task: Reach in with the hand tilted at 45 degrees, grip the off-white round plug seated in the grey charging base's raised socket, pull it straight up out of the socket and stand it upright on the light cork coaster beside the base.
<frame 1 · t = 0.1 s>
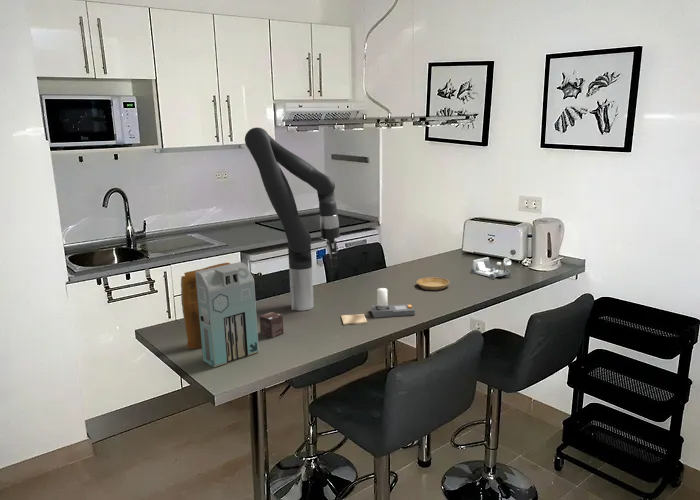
hand: (333, 264, 229), 17 cm above the breakfast bar, tool pointing down, fingers open, 8 cm apart
plant saucer: (432, 287, 255), on the breakfast bar
cork coaster: (354, 320, 215), on the breakfast bar
pancake mix bag: (211, 344, 195), on the breakfast bar
grey charging base: (392, 313, 221), on the breakfast bar
box: (272, 334, 202), on the breakfast bar
device: (231, 357, 184), on the breakfast bar
plug: (382, 313, 221), resting in grey charging base
white wheeled toy: (492, 276, 271), on the breakfast bar
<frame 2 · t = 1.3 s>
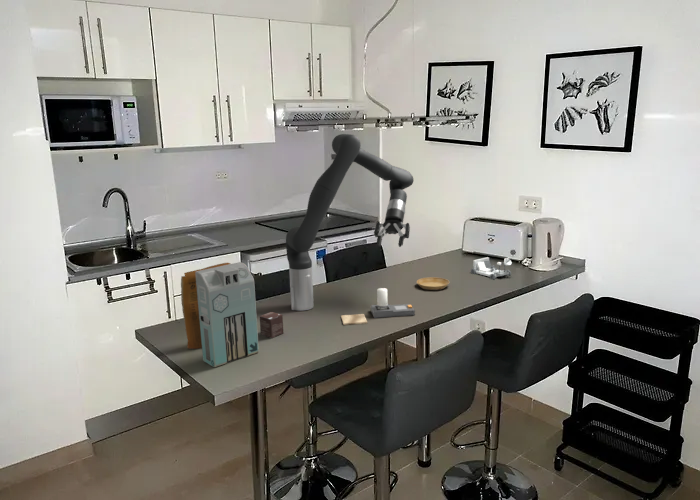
hand: (389, 245, 226), 25 cm above the breakfast bar, tool tilted 45°, fingers open, 8 cm apart
nothing on the breakfast bar moved.
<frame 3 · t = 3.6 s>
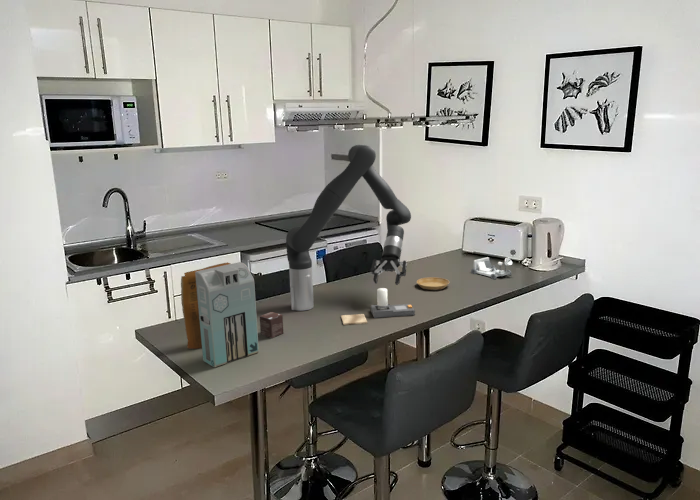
hand: (385, 283, 224), 11 cm above the breakfast bar, tool tilted 45°, fingers open, 8 cm apart
nothing on the breakfast bar moved.
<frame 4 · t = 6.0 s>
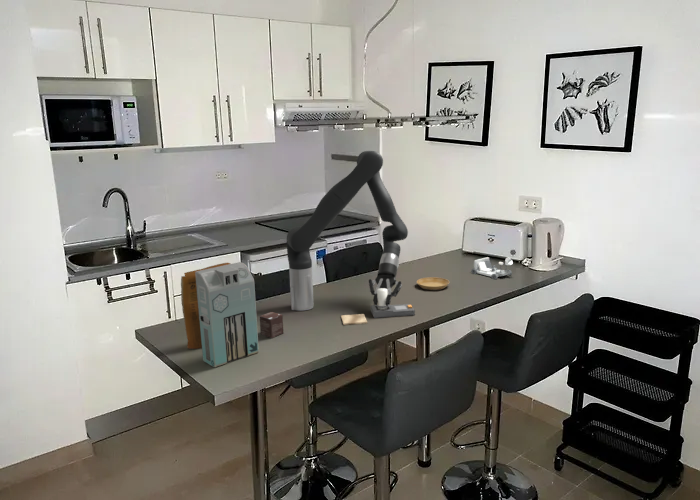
hand: (381, 304, 218), 5 cm above the breakfast bar, tool tilted 45°, fingers closed on plug, 4 cm apart
plug: (382, 313, 221), resting in grey charging base, touching gripper
everything else where it was.
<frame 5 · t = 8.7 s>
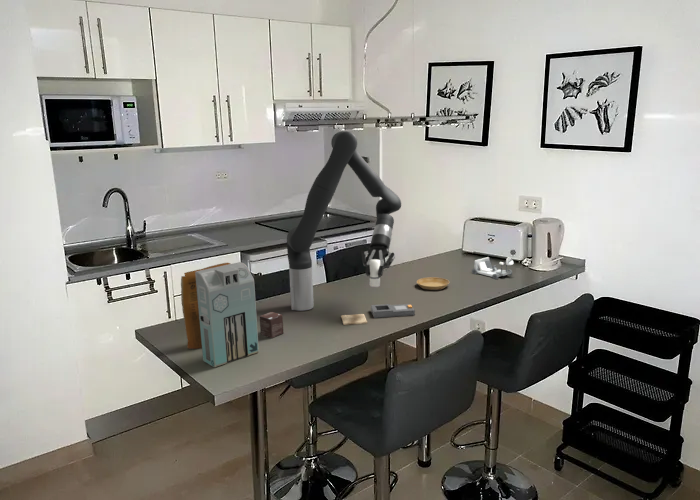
hand: (373, 275, 214), 17 cm above the breakfast bar, tool tilted 45°, fingers closed on plug, 4 cm apart
plug: (374, 285, 217), point 12 cm above the breakfast bar, touching gripper
everything else where it was.
when the fingers open (7 cm above the breakfast bar, at t = 11.6 s): plug drops 1 cm, resting on cork coaster.
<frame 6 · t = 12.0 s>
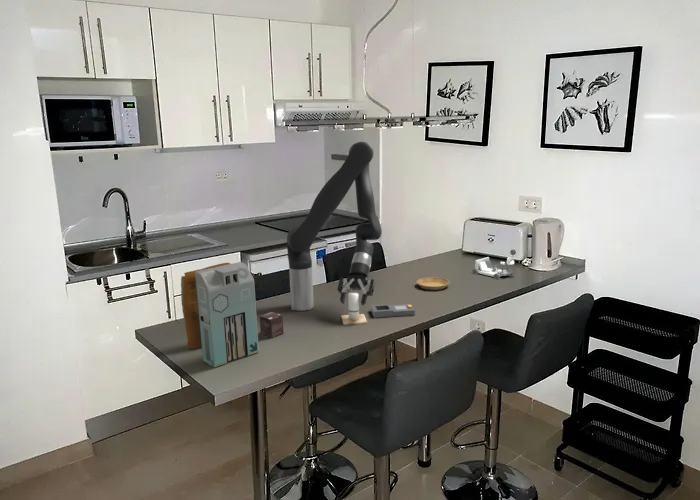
hand: (352, 303, 212), 7 cm above the breakfast bar, tool tilted 45°, fingers open, 7 cm apart
plug: (354, 318, 215), point 1 cm above the breakfast bar, touching cork coaster
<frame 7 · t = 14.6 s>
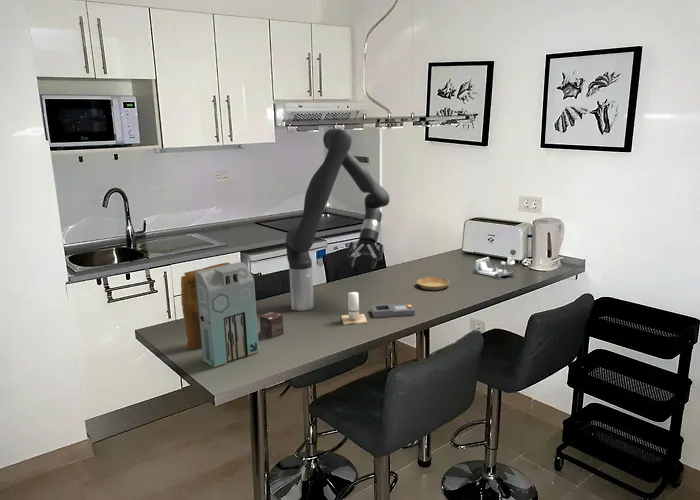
hand: (362, 267, 222), 18 cm above the breakfast bar, tool tilted 45°, fingers open, 8 cm apart
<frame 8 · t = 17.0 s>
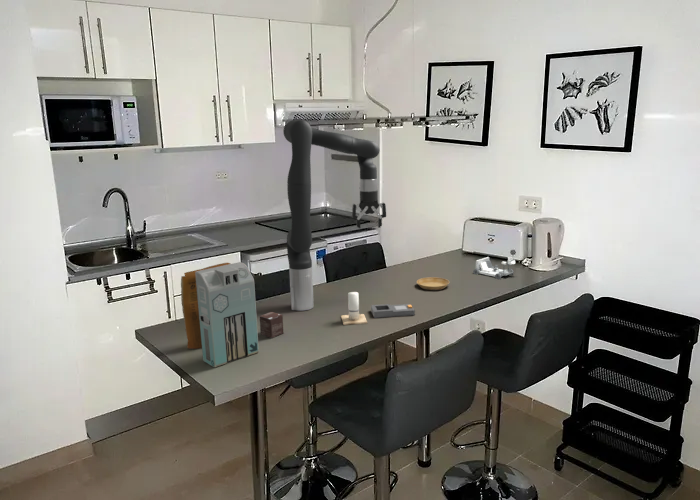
hand: (369, 227, 237), 30 cm above the breakfast bar, tool pointing down, fingers open, 8 cm apart
at the end: plug 0.1 cm off-centre on the cork coaster, point 0.6 cm above the cork coaster's base; plug tilted 1°; the gripper is holding nothing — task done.
